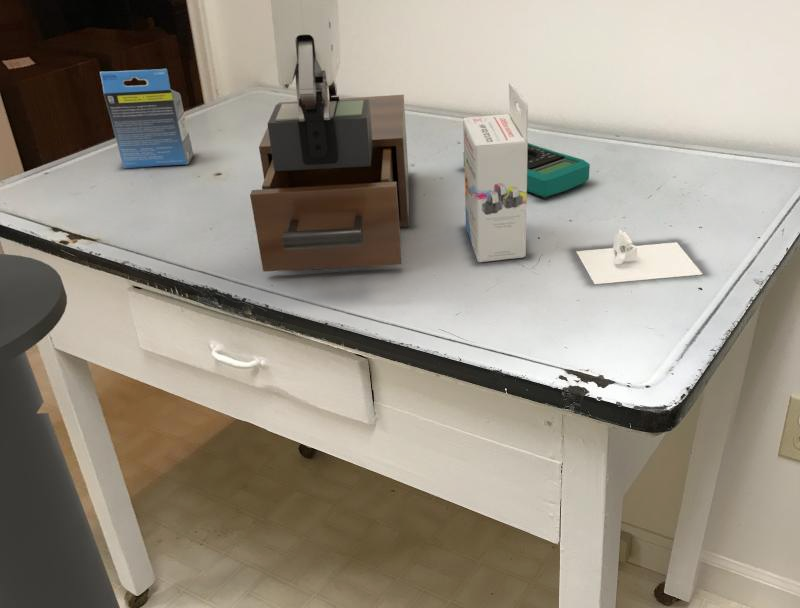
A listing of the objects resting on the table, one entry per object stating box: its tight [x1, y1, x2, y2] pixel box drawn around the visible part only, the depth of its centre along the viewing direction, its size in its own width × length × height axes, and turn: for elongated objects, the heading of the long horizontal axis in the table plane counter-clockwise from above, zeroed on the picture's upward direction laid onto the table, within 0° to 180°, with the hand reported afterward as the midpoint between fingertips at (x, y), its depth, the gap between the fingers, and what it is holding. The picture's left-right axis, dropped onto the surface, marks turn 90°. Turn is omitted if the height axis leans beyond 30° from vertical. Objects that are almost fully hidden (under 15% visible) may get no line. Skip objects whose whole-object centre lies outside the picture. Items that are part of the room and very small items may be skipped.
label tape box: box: [99, 68, 194, 169], centre depth 110 cm, size 9×4×12 cm, turn 88°
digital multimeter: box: [463, 142, 591, 199], centre depth 100 cm, size 7×15×3 cm, turn 36°
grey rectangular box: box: [267, 100, 373, 172], centre depth 80 cm, size 9×6×5 cm, turn 90°
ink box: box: [462, 81, 529, 263], centre depth 82 cm, size 8×5×15 cm, turn 5°
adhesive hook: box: [611, 228, 638, 265], centre depth 80 cm, size 3×3×3 cm
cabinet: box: [258, 94, 410, 228], centre depth 95 cm, size 16×15×10 cm
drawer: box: [249, 146, 403, 273], centre depth 84 cm, size 19×13×8 cm
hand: (323, 149), depth 81 cm, fingers closed on grey rectangular box, 6 cm apart
